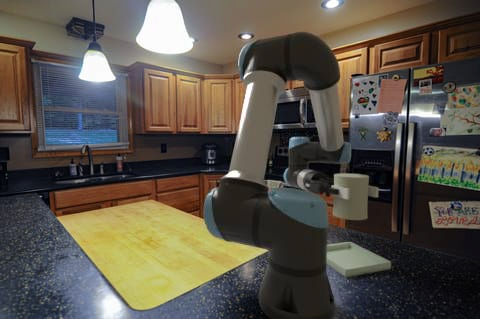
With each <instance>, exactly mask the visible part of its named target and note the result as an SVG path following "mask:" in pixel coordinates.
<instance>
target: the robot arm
mask: <svg viewBox="0 0 480 319" xmlns="http://www.w3.org/2000/svg"><path fill="white" fill-rule="evenodd" d="M237 66H238V75H239V79H240V80H241V82H242V83H243V84H242V85H243V87H244V89H246V92H245V97H244V100H243V106H242V110H241V115H240V118H239V124H238V128H237V133H236V136H235V138H236V139H235V142H234V147H233V152H232V156H231V161H230V165H229V170H228V173H227V174H225V175H224V176H222V177H221V178H220V179H219V185H218V187H214V188H212V189H211V190H210V191H209V193H207V195H206V196H205V200H204V204H203V209H202V210H203V221H204V224H205V226H206V229H207V230H208V231H207V232H208V233H210V235H211V236H212V237H214V238H216V239H220V240H224V241H225V242H228V243H235V244H241V245H244V246H249V247H254V248H258V249H263V250H267V267H266V269H265V272H264V275H263V278H262V280H261V284H260V285H259V289H258V290H259V291H258V304H259V307H260V309H261V311H262V312H263V313H264V314H265V315H266V317H268V318H269V319H333V318H334V317H335V308H336V307H335V304H336V302H335V296H334V294H333V288H332V286H331V283H330V280H329V277H328V276H329V275H328V273H327V265H326V263H327V245H328V233H329V231H328V227H329V225H330V221H329V217H328V216H329V211H328V210H329V209H328V203H327V202H326V200H325V199H324V198H323V197H322V196H320V195H323V194H325V197H326V198H327V197H328V198H330V197H331V196H333V197H334V196H337V197H340V198H344V199H347V200H349V199H350V189H347V188H343V187H339V186H335V185H334V178H331V177H328V176H327V174H326V173H324V172H323V171H318V170H314V169H309V164H310V163H323V164H338V165H339V164H349V163H350V162H351V158H352V144H351V143H350V142H348V141H344V132H343V124H342V115H341V106H340V105H341V104H340V98H339V88H338V83H339V82H340V80H341V71H340V70H341V68H340V64H339V62H338V59H337V56H336V54H335V53H334V52H333V50H332V48H331V47H330V46H329V45H328V43H326V42H325V41H324V40H323V39H322V38H320V37H319V36H317V35H315V34H313V33H311V32H308V31H296V32H293V33H289V34H282V35H278V36H272V37H268V38H259V39H256V40H254V41H251V42H249V43H246V44H245V45H244V46H243V47H242V49H241V50H240V53H239V57H238V63H237ZM294 81H302V82H303V85H304V88H305V89H306V90H307V91H308V92H309V97H310V101H311V102H310V103H311V105H312V111H313V114H314V119H315V124H316V128H317V129H316V130H317V133H318V138H319V142H318V141H310V137H307V136H292V137H291V138H289V141H288V142H289V143H288V144H289V145H288V165H287V166H288V167H287V168H286V169H285V171H284V173H283V180H284V183H286V184H287V185H288V186H291V187H288V188H287V187H282V186H279V187H273V188H271V189H270V190H269V188H270V187H269V186H268V184H267V183H266V182H265V174H266V169H267V164H268V158H269V151H270V146H271V143H272V142H271V140H272V135H273V129H274V124H275V118H276V113H277V108H278V102H279V101H278V100H279V96H281V95H282V94H284V93H285V91H286V89H287V84H288V82H294ZM292 187H293V188H292ZM368 197H373V198H379V187H377V186H374V185H373V186H372V185H368Z"/></svg>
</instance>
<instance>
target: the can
mask: <svg viewBox="0 0 480 319" xmlns="http://www.w3.org/2000/svg"><path fill="white" fill-rule="evenodd" d="M333 179H334V185H335V186H339V187H343V188H347V189H350V199H349V200H347V199H344V198H340V197H337V196H333V204H332V205H333V206H332V215H333V216H334V217H335V218H339V219H341V220H343V219H344V220H350V221H364V220H367V219H368V217H369V216H368V203H369V202H368V200H369V199H368V198H369V196H368V186H369V183H370V182H369V181H370V180H369V179H370V176H369V175H367V174H361V173H347V172H346V173H345V172H344V173H342V172H341V173H334V174H333Z"/></svg>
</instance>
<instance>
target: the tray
mask: <svg viewBox="0 0 480 319" xmlns="http://www.w3.org/2000/svg"><path fill="white" fill-rule="evenodd" d="M326 266H328V267H329V268H331V269H333V270H334V271H335V273H336V272H337V273H338V274H340V276H342V277H344V278H351V277H355V276H361V275H367V274H372V273H377V272H382V271H387V270H391V269H392V261H390V260H388V259H387V258H384V257H382V256H380V255H378V254H376V253H374V252H372V251H371V250H368V249H367V248H364V247H362V246H360V245H358V244H356V243H354V242H352V241H346V242H338V243H329V244H327V263H326Z"/></svg>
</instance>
